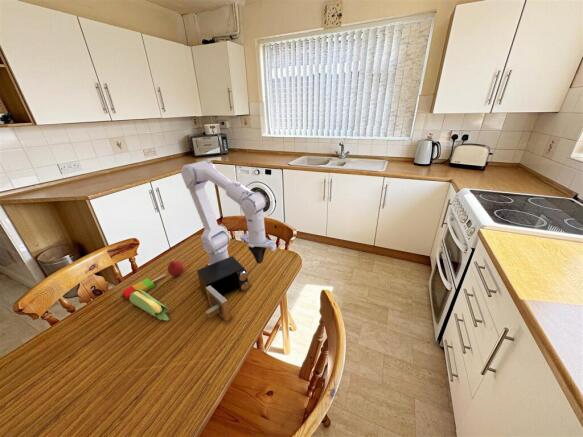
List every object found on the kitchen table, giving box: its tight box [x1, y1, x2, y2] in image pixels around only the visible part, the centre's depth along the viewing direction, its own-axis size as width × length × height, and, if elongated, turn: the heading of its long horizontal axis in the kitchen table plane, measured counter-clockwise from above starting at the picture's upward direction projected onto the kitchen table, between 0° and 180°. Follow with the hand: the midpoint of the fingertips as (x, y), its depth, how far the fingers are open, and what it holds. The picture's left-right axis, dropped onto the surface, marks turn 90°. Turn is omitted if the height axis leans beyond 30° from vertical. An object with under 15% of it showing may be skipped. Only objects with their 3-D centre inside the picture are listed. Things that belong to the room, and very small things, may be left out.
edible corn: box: [128, 290, 170, 321], centre depth 79 cm, size 5×20×5 cm, turn 59°
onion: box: [167, 258, 185, 277], centre depth 94 cm, size 6×6×8 cm
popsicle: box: [122, 273, 167, 301], centre depth 91 cm, size 6×15×2 cm, turn 143°
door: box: [205, 286, 231, 322], centre depth 75 cm, size 6×10×8 cm, turn 47°
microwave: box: [196, 255, 250, 298], centre depth 87 cm, size 12×14×8 cm
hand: (259, 261), depth 86 cm, fingers closed
